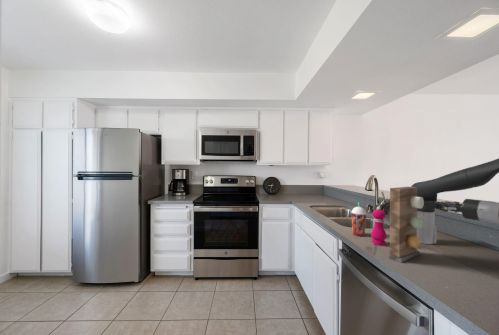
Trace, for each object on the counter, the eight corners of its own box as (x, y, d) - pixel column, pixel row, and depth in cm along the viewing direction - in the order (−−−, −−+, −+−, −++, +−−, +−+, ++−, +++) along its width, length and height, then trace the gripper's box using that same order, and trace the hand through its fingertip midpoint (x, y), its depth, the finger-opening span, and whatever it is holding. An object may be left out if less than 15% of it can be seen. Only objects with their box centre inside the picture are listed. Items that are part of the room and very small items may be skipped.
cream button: (423, 207, 95) (423, 196, 95) (418, 209, 93) (418, 197, 93) (415, 206, 98) (415, 195, 98) (410, 207, 95) (410, 196, 95)
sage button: (423, 228, 95) (423, 216, 95) (418, 229, 93) (418, 218, 93) (415, 226, 98) (415, 215, 98) (410, 227, 96) (410, 216, 96)
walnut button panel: (419, 254, 102) (420, 187, 102) (401, 262, 93) (401, 189, 93) (407, 251, 106) (408, 186, 106) (389, 258, 98) (389, 188, 97)
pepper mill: (388, 246, 112) (389, 208, 112) (373, 245, 113) (374, 207, 113) (383, 241, 119) (383, 205, 119) (369, 240, 121) (369, 205, 120)
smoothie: (365, 237, 125) (365, 203, 125) (350, 235, 130) (350, 202, 130) (366, 234, 132) (366, 201, 132) (351, 231, 137) (351, 200, 137)
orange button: (420, 247, 97) (420, 236, 97) (414, 249, 94) (414, 238, 94) (412, 245, 99) (412, 234, 99) (407, 247, 97) (407, 236, 97)
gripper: (488, 199, 81) (431, 193, 96) (476, 201, 75) (417, 195, 90) (488, 218, 81) (431, 210, 96) (476, 223, 75) (417, 213, 90)
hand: (425, 203), depth 93 cm, fingers closed
